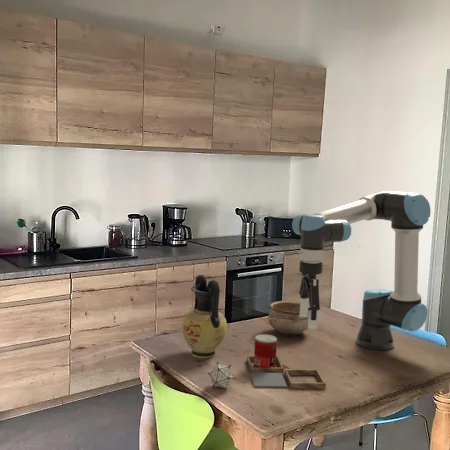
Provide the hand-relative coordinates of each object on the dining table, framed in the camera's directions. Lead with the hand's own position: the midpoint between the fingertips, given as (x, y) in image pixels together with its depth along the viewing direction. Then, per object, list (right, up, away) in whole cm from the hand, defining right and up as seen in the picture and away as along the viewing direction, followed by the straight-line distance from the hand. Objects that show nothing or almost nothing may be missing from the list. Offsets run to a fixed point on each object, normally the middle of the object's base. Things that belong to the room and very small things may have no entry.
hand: (307, 322), depth 184 cm
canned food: (-13, -19, +14) cm, 27 cm away
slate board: (-13, -20, +2) cm, 24 cm away
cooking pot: (0, -14, +53) cm, 55 cm away
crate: (-13, -19, +14) cm, 27 cm away
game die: (-29, -21, -5) cm, 36 cm away
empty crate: (-1, -21, +3) cm, 21 cm away
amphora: (-36, -17, +24) cm, 47 cm away
